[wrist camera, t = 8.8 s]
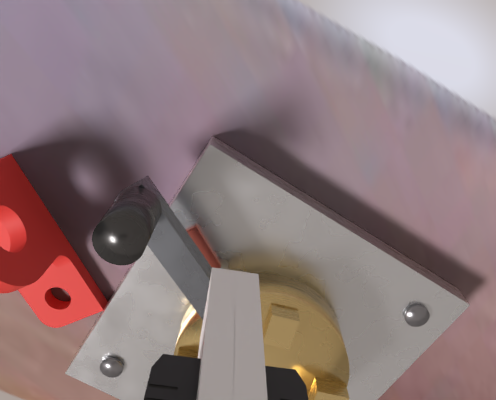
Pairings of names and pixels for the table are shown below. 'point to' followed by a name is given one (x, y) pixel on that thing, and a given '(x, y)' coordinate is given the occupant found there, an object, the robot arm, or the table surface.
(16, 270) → the bracket
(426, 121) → the table surface
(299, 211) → the flange plate
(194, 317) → the ball knob lever
